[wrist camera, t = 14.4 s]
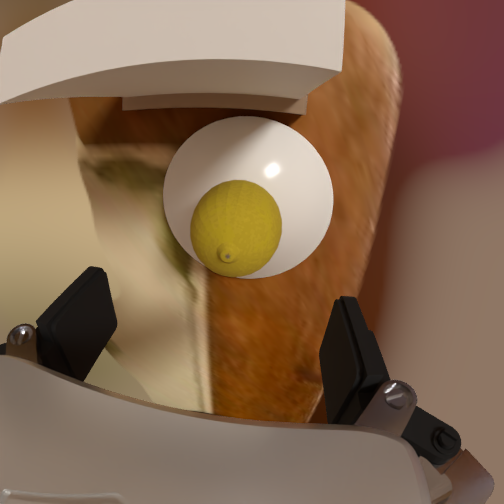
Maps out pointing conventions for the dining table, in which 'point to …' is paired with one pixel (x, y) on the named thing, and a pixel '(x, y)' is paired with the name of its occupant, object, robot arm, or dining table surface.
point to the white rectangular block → (177, 53)
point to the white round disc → (257, 171)
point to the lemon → (236, 228)
